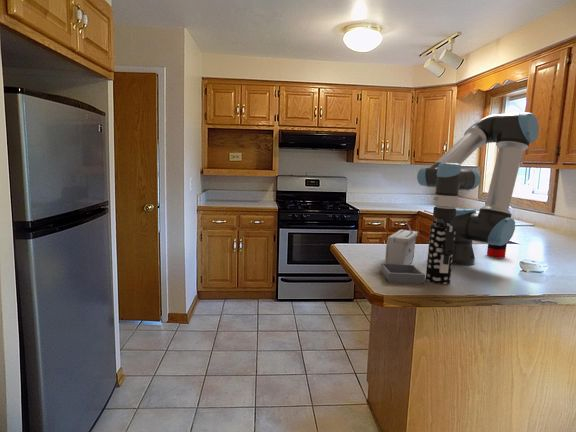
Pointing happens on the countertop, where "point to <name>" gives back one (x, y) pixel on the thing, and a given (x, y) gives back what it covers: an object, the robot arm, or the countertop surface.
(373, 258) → the countertop surface
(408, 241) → the stereo radio cassette player
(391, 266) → the tray
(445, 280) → the spotted tube
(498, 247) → the soda can
